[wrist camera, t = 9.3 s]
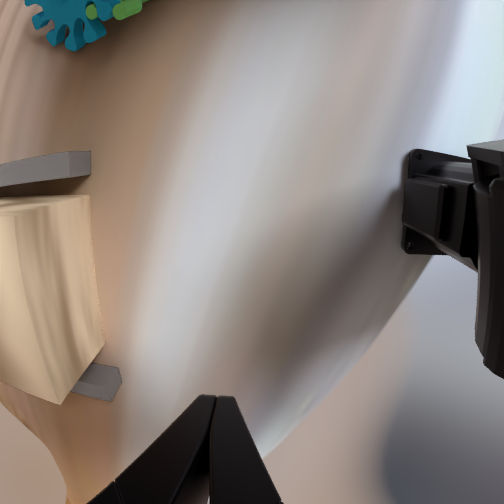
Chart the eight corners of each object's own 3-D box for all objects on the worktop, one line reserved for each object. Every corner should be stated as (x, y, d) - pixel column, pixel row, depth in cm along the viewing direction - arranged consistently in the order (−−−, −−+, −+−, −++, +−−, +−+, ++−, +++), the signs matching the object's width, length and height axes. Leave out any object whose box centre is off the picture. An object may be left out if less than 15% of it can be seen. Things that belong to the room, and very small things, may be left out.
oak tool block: (91, 194, 18) (13, 216, 10) (106, 342, 21) (60, 405, 14) (-3, 197, 18) (-72, 216, 11) (16, 320, 21) (-34, 363, 14)
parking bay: (90, 151, 17) (69, 151, 14) (122, 381, 22) (111, 401, 19) (-20, 171, 17) (-40, 174, 15) (17, 356, 22) (4, 370, 20)
